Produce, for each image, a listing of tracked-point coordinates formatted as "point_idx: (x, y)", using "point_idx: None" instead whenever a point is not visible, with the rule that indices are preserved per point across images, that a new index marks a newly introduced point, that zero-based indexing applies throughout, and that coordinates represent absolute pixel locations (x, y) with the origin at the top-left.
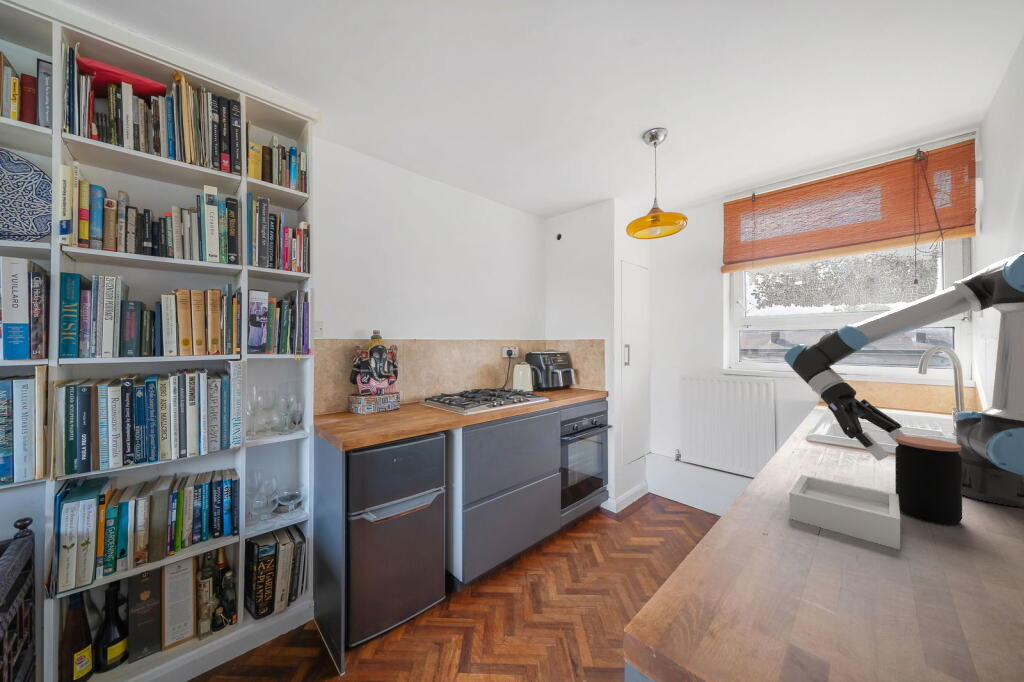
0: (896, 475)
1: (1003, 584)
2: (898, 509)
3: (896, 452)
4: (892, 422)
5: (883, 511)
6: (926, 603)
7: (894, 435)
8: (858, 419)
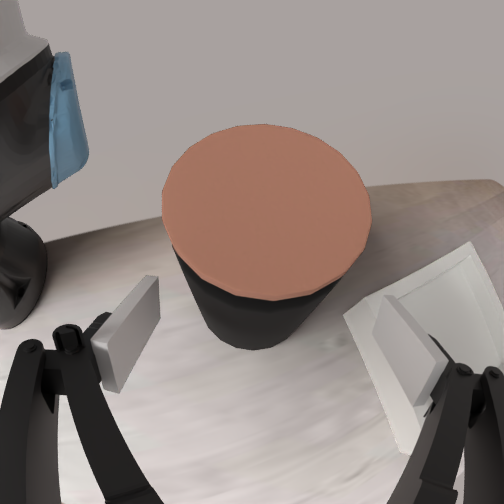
0: (298, 324)
1: (412, 189)
2: (444, 257)
3: (320, 300)
4: (41, 372)
5: (418, 297)
6: (492, 215)
7: (122, 361)
8: (436, 438)
